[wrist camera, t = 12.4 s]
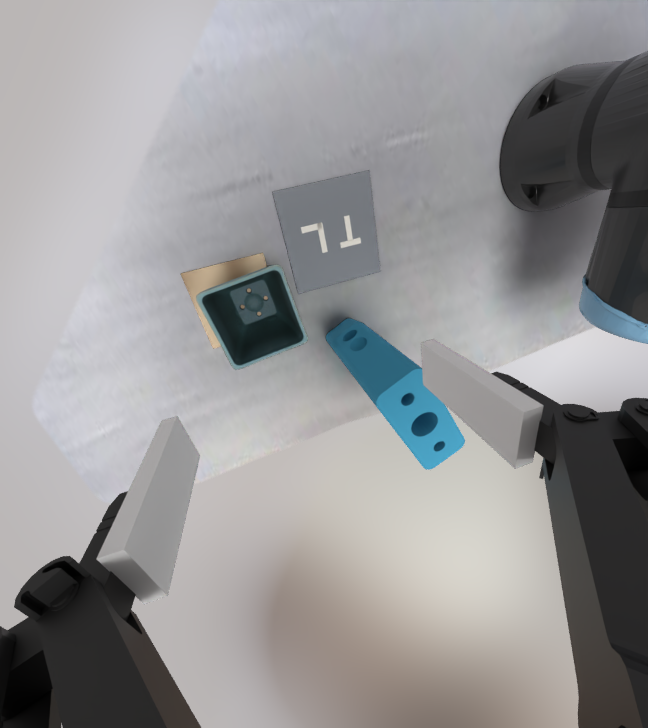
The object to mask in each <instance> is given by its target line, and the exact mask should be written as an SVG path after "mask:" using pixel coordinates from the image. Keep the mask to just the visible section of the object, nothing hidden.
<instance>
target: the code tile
mask: <svg viewBox="0 0 648 728" xmlns="http://www.w3.org/2000/svg"><path fill="white" fill-rule="evenodd" d="M273 196H274V200H275V204H276V208H277V212H278V216H279V220H280V224H281V228H282V232H283V236H284V240H285V244H286V248H287V252H288V256H289V260H290V263H291V267H292V271H293V275H294V279H295V283H296V287H297V291H298V294H301V293H304V292H308V291H311V290H315V289H319V288H322V287H326V286H330V285H333V284H337V283H340V282H344V281H348V280H351V279H355V278H359V277H362V276H366V275H369V274H373V273H377V272H380V271H381V270H380V261H379V252H378V243H377V234H376V225H375V216H374V206H373V197H372V188H371V179H370V170H368V171H363V172H359V173H354V174H350V175H345V176H341V177H336V178H332V179H328V180H323V181H319V182H314V183H310V184H305V185H301V186H296V187H292V188H287V189H283V190H278V191H274V192H273Z"/></svg>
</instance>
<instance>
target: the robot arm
mask: <svg viewBox="0 0 648 728" xmlns="http://www.w3.org/2000/svg"><path fill="white" fill-rule="evenodd" d="M501 178H502V183H503V187H504V190H505V192H506V194H507V196H508V198H509V199H510V200H511V202H512V203H513V204H514V205H516V206H517V207H519V208H520V209H523V210H526V211H542V210H551V209H555V208H558V207H561V206H563V205H565V204H568V203H570V202H573V201H575V200H578V199H580V198H582V197H585V196H587V195H590V194H592V193H595V192H597V191H600V190H607V189H611V193H610V196H609V200H608V203H607V206H606V210H605V213H604V217H603V220H602V223H601V227H600V230H599V233H598V237H597V240H596V243H595V246H594V250H593V253H592V256H591V259H590V263H589V266H588V269H587V272H586V274H585V276H584V277H583V281H582V283H583V290H582V294H581V298H580V303H579V308H580V312H581V313H582V315H583V316H584V317H585V319H586V320H587V321H589V322H590V323H591V324H593V325H594V326H596V327H598V328H600V329H602V330H604V331H606V332H608V333H611V334H613V335H617V336H619V337H622V338H626V339H629V340H633V341H637V342H641V343H646V344H648V51H647V52H645V53H642V54H640V55H638V56H635V57H633V58H631V59H628V60H626V61H617V62H605V63H593V64H581V65H575V66H571V67H568V68H566V69H564V70H562V71H560V72H557V73H555V74H553V75H551V76H549V77H547V78H546V79H544V80H542V81H541V82H540V83H538V84H537V85H536V86H535V87H534V88H533V89H532V90H531V91H530V92H529V93H528V94H527V95H526V96H525V98H524V99H523V100H522V102H521V103H520V105H519V106H518V108H517V109H516V111H515V113H514V115H513V117H512V119H511V121H510V123H509V126H508V129H507V131H506V135H505V138H504V142H503V146H502V152H501ZM421 354H422V373H423V385H424V386H425V387H426V388H427V389H428V390H429V391H430V392H432V393H433V394H434V395H435V396H436V397H437V398H438V399H439V400H440V401H441V402H443V403H444V404H445V405H446V406H447V407H448V408H449V409H450V410H451V411H452V412H453V413H455V414H456V415H457V416H458V417H459V418H460V419H461V420H462V421H463V422H464V423H466V424H467V425H468V426H469V427H470V428H471V429H472V430H473V431H474V432H475V433H476V434H478V435H479V436H480V437H481V438H482V439H483V440H484V441H485V442H486V443H487V444H489V445H490V446H491V447H492V448H493V449H494V450H495V451H496V452H497V453H498V454H500V455H501V456H502V457H503V458H504V459H505V460H506V461H507V462H508V463H509V464H510V465H511V466H513V467H514V468H515V469H516V468H519V467H521V466H524V465H527V464H530V463H532V462H533V458H534V453H535V451H536V452H538V453H539V454H540V455H541V456H542V457H544V458H543V463H542V467H541V472H540V478H541V479H543V477H545V484H546V490H547V496H548V502H549V508H550V515H551V521H552V527H553V533H554V540H555V546H556V552H557V558H558V564H559V570H560V576H561V583H562V590H563V596H564V602H565V608H566V614H567V620H568V626H569V633H570V639H571V645H572V651H573V658H574V664H575V670H576V676H577V683H578V693H579V704H578V726H579V728H648V399H646V398H632V399H627V400H625V401H623V403H622V406H621V409H620V411H613V412H600V413H597V412H596V411H594V410H593V409H590V408H588V407H585V406H581V405H576V404H563V405H560V404H558V403H557V402H555V401H553V400H551V399H550V398H548V397H546V396H544V395H543V394H541V393H539V392H537V391H536V390H534V389H532V388H529V387H528V386H527V385H525V384H523V383H520V381H518V380H516V379H515V378H513V377H511V376H509V375H506V374H502V373H499V372H494V373H489V372H488V371H486V370H484V369H483V368H481V367H479V366H478V365H476V364H474V363H473V362H471V361H469V360H468V359H466V358H465V357H463V356H461V355H460V354H458V353H456V352H455V351H453V350H451V349H450V348H448V347H446V346H445V345H443V344H441V343H440V342H438V341H437V340H435V339H431V340H428V341H425V342H421ZM199 458H200V455H199V453H198V451H197V449H196V448H195V446H194V444H193V442H192V441H191V439H190V437H189V435H188V434H187V432H186V430H185V428H184V427H183V425H182V423H181V421H180V420H179V418H178V416H175V417H172V418H169V419H165V420H162V421H161V423H160V425H159V427H158V429H157V431H156V433H155V436H154V438H153V440H152V442H151V444H150V446H149V448H148V450H147V453H146V455H145V457H144V459H143V461H142V463H141V465H140V467H139V469H138V472H137V474H136V476H135V478H134V480H133V482H132V484H131V486H130V489H129V491H127V492H124V493H121V494H119V495H118V497H117V498H116V499H115V500H114V501H113V502H112V504H111V505H110V506H109V507H108V509H107V511H106V513H105V515H104V517H103V519H102V522H101V523H100V525H99V527H98V529H97V533H96V534H94V536H93V538H92V540H91V542H90V544H89V546H88V548H87V550H86V552H85V554H84V556H83V558H82V560H81V561H80V563H77V562H76V561H75V560H74V559H73V558H71V557H70V556H63V557H60V558H58V559H55V560H53V561H51V562H50V563H48V564H47V565H45V566H44V567H42V568H41V569H40V570H38V571H37V572H36V573H35V574H34V575H33V576H32V577H31V578H30V579H29V580H28V581H27V582H26V584H25V585H24V586H23V587H22V588H21V590H20V592H19V594H18V595H17V597H16V600H15V606H14V607H15V608H16V609H18V610H20V611H21V612H22V613H24V614H25V615H27V616H28V618H27V619H25V620H24V621H22V622H20V623H19V624H17V625H16V626H14V627H12V628H11V629H9V630H6V629H4V628H2V627H1V626H0V728H61V722H62V726H63V728H201V726H200V725H199V723H198V721H197V719H196V718H195V716H194V714H193V713H192V711H191V709H190V707H189V706H188V704H187V702H186V700H185V699H184V697H183V695H182V694H181V692H180V690H179V688H178V687H177V685H176V683H175V681H174V680H173V678H172V677H171V674H170V673H169V671H168V669H167V667H166V666H165V664H164V662H163V661H162V659H161V657H160V655H159V654H158V652H157V650H156V648H155V647H154V645H153V643H152V642H151V640H150V638H149V636H148V635H147V633H146V631H145V629H144V628H143V626H142V624H141V622H140V621H139V619H138V617H137V615H136V614H135V613H134V612H133V611H132V610H131V608H132V605H133V601H134V598H135V596H136V597H137V598H138V599H139V600H140V601H141V602H142V603H143V604H147V603H150V602H152V601H155V600H158V599H160V598H163V597H166V596H168V593H169V588H170V584H171V579H172V575H173V571H174V567H175V562H176V558H177V553H178V549H179V545H180V541H181V536H182V532H183V527H184V523H185V519H186V514H187V510H188V506H189V501H190V497H191V493H192V488H193V484H194V480H195V475H196V471H197V467H198V462H199Z"/></svg>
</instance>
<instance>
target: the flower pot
mask: <svg viewBox="0 0 648 728" xmlns="http://www.w3.org/2000/svg"><path fill="white" fill-rule="evenodd" d="M247 289H251V292H247ZM264 296H267V297H268V299H267V300H265V299H264ZM196 301H197V303H198V305H199V307H200V308H201V310H202V312H203V314H204V316H205V318H206V319H207V321H208V323H209V325H210V327H211V329H212V330H213V332H214V334H215V336H216V338H217V340H218V341H219V343H220V345H221V347H222V349H223V351H224V353H225V354H226V356H227V358H228V360H229V362H230V364H231V366H232V367H233V368H234V369H235V370H239V369H243V368H245V367H247V366H250V365H252V364H255V363H257V362H259V361H262V360H264V359H267V358H269V357H272V356H274V355H276V354H279V353H282V352H284V351H287V350H289V349H292V348H295V347H297V346H300V345H302V344H304V343H306V342H307V341H308V336H307V333H306V331H305V328H304V326H303V323H302V321H301V318H300V316H299V313H298V310H297V308H296V305H295V302H294V299H293V297H292V294H291V291H290V289H289V286H288V283H287V280H286V277H285V274H284V271H283V269H282V267H281V266H280V265H271V266H268V267H265V268H263V269H260V270H257V271H255V272H252V273H249V274H247V275H244V276H241V277H239V278H236V279H233V280H231V281H228V282H225V283H222V284H220V285H217V286H214V287H211V288H209V289H207V290H204V291H202V292H200V293H199V294H197V295H196ZM241 305H244V306H245V307H244V309H242V308H241ZM258 312H261V315H260V316H259V315H257V313H258Z"/></svg>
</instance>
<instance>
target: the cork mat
mask: <svg viewBox="0 0 648 728" xmlns="http://www.w3.org/2000/svg"><path fill="white" fill-rule="evenodd" d="M265 267H267V265H266V261H265V258H264V255H263V253H260V254H256V255H252V256H248V257H244V258H240V259H236V260H232V261H228V262H224V263H220V264H216V265H212V266H208V267H204V268H200V269H196V270H192V271H189V272H185V273H181V276H182V278H183V281H184V283H185V285H186V288H187V290H188V292H189V294H190V297H191V299H192V301H193V304H194V306H195V308H196V311H197V313H198V315H199V317H200V320H201V322H202V324H203V327H204V329H205V331H206V333H207V336H208V338H209V340H210V343H211V345H212V347H213V349H214V348H218V347H221V345H220V343H219V341H218V340H217V338H216V336H215V334H214V332H213V330H212V329H211V327H210V325H209V323H208V321H207V319H206V318H205V316H204V314H203V312H202V310H201V308H200V307H199V305H198V303H197V301H196V295H197V294H199V293H200V292H202V291H204V290H207V289H209V288H211V287H214V286H217V285H220V284H222V283H225V282H228V281H231V280H233V279H236V278H239V277H241V276H244V275H247V274H249V273H252V272H255V271H257V270H260V269H263V268H265ZM247 292H251V289H247ZM264 299H265V300H267V299H268V297H267V296H264ZM244 307H245V306H244V305H241V308H242V309H244ZM257 315H259V316H260V315H261V312H258V313H257Z"/></svg>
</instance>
